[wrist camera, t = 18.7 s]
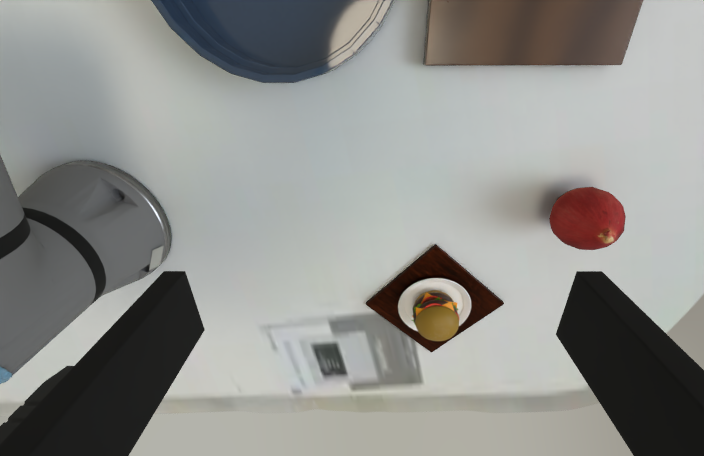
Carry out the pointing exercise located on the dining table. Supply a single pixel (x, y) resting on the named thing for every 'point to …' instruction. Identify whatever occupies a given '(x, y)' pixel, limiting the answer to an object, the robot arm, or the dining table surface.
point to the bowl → (276, 33)
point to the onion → (587, 218)
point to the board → (529, 32)
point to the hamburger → (434, 300)
